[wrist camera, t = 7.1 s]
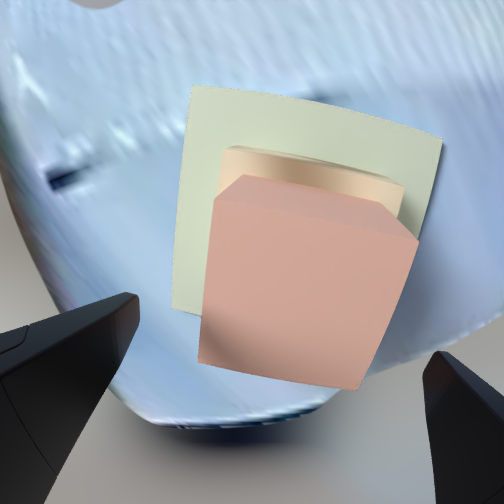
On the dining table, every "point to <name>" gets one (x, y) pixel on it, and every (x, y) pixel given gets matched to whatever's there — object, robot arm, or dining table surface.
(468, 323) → the dining table surface
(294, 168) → the block
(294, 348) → the coral block
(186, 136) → the baseplate
